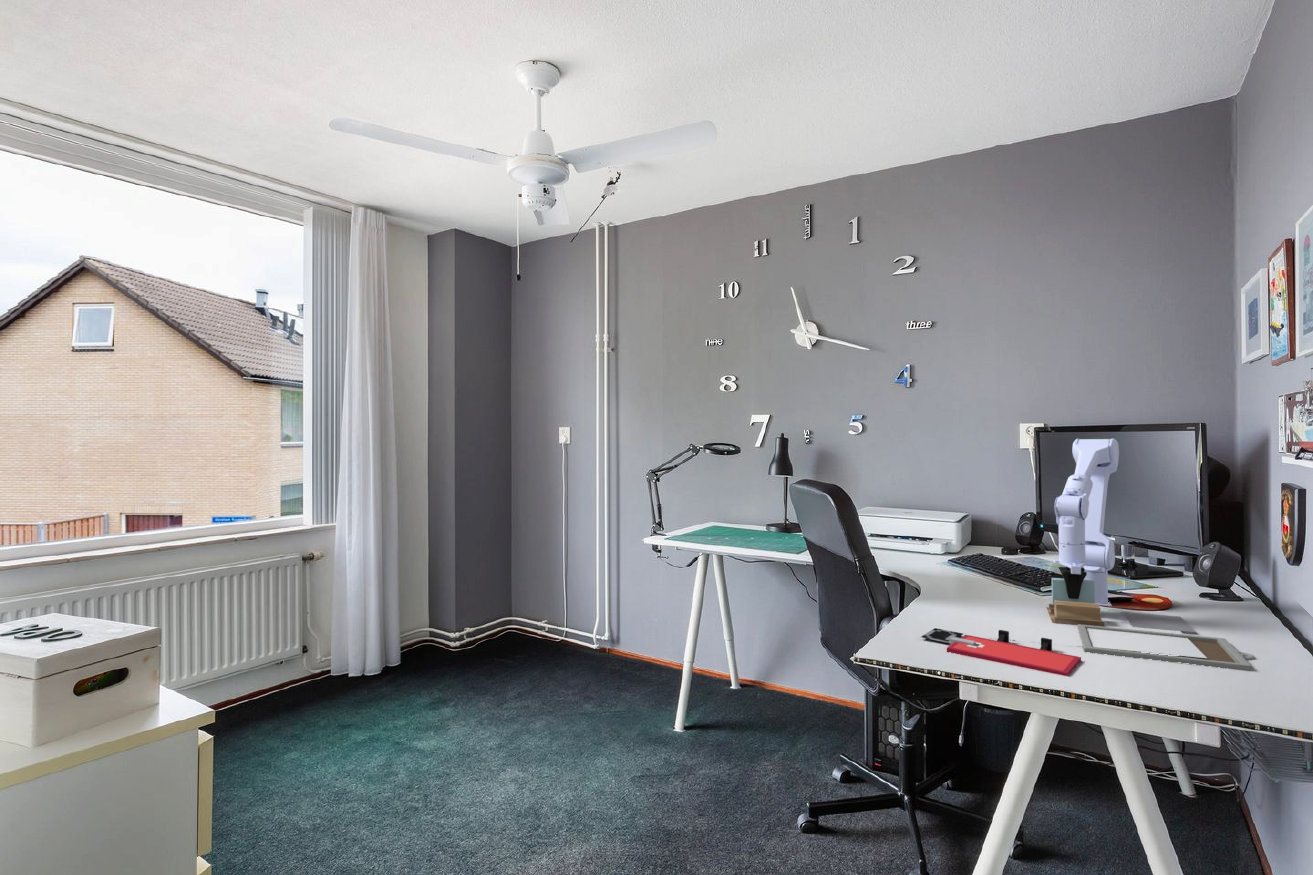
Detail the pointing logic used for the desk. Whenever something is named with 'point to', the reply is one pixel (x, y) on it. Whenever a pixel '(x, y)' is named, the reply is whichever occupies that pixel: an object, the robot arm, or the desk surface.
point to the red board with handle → (1007, 651)
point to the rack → (1072, 619)
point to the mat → (1159, 622)
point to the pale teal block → (1061, 593)
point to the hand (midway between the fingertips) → (1072, 597)
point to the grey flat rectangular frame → (1211, 647)
